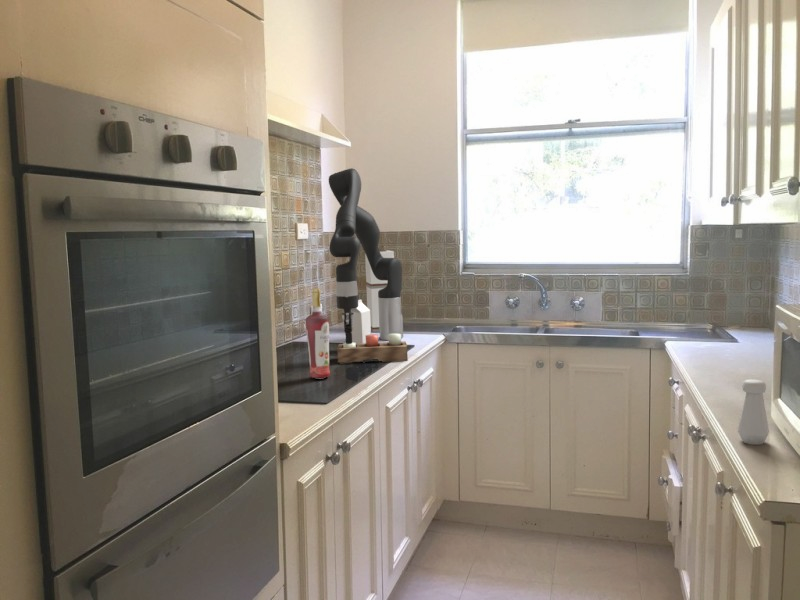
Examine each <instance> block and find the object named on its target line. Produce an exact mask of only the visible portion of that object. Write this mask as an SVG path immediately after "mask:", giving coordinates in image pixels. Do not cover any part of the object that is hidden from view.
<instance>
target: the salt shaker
mask: <svg viewBox="0 0 800 600" xmlns="http://www.w3.org/2000/svg"><path fill="white" fill-rule="evenodd" d="M741 385H742V391H743V392H745V395H744V399H743V404H742V409H741V413H740V417H739V421H738V424H737V433H738V435H739V437H740V439H741V440H742V443H745V444H748V445H752V446H753V445H754V446H757V445H763V444H764V443H765V442H766V439H767V437H768V436H769V433H770V428H769V424H768V417H767V412H766V405H765V399H764V393H766V391H767V384H766V383H765V382H764V381H763V380H760V379H754V378H753V379H745V380H743V382H742V384H741Z"/></svg>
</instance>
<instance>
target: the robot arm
mask: <svg viewBox="0 0 800 600" xmlns="http://www.w3.org/2000/svg"><path fill="white" fill-rule="evenodd" d="M328 185H329V188H330V190H331V192H332V194H333V196H334V197H335V199H336V200H337V202H338V203H339V205H340V206H339V209H338V210H337V212H336V216H335V229H334V232H333V234H332V237H331V239H330V242H329V252H330V254H331V256H333V257H335V258H349V261H347V262H344V263H341V264H338V265H336V267H335V277H336V278H335V279H336V280H335V281H336V285H335V296H336V297H335V298H336V308H337V309H340V310H343V312H342V313H341V319H342V325H343V328H344V334H345V335H344V336H345V343H346V344H351V343H352V329H353V317H354V313H351V309H352V308H357V307H358V300H359V290H358V282H357V279H358V278H357V263H358V259H359V255H360V251H361V247H362V249H363V251H364V255H365V254H366V256H367V258H368V261H369V264H370V266H371V269H372V272H373V274H374V276H375V277H376V278H377V279H379V280H388V282H387V286H386V287H385V288H383V289H381V290H379V291H378V304H379V330H380V332H379V340H382V341H389V338H388V334H393V333H398V334H401V339H403V338H404V323H403V322H404V320H403V318H404V317H403V314H402V301H401V300H402V297H401V294H402V288H403V267H402V263H401V260H400V259H399V258H397V257H394V258H383V257H382V255H381V253H380V252H381V251H380V250H379V242H380V238H381V237H380V236H381V235H380V234H381V233H380V232H381V230H380V228H379V225H378V224H377V222H376V220H375V218H374V216H373V215H372V214H371V213H370V212H369V211H367V210H366V209H364V208H362V207H361V206H359V200H360V195H361V192H362V191H361V190H362V180H361V176H360V174H359V172H358V171H357V169H355V168H353V167H351V168H347V169H344V170H340V171H338V172H335V173H332V174H331V175H330V176H328ZM354 235H356V236H354Z"/></svg>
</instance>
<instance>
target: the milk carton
mask: <svg viewBox="0 0 800 600" xmlns="http://www.w3.org/2000/svg"><path fill="white" fill-rule="evenodd" d="M351 313H354V317H353V329H352V342H354V343H366V335H370V334H372V331H371V322H370V310H369V309H368V308H367V305H365V304H364V303H363V300H362V299H358V307H357V308H352V309H351Z"/></svg>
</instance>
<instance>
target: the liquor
mask: <svg viewBox="0 0 800 600" xmlns="http://www.w3.org/2000/svg"><path fill="white" fill-rule="evenodd" d="M311 297H312V308H311V309H312V311H311V314H310V315H309V316H307V317H306V318H305V329H306V330H305V331H306V339H307V340H306V341H307V348H308V361H309V374H308V376H309V377H310V378H312V379H313V378H324V377H328V376H331V374H332V373H331V371H330V317H329V316H327V314H324V313H323V312H322V305H321V304H322V303H321V289H320V288H312V289H311ZM328 378H329V377H328Z"/></svg>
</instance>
